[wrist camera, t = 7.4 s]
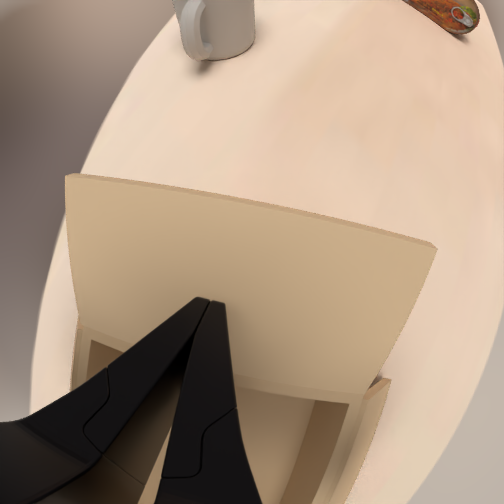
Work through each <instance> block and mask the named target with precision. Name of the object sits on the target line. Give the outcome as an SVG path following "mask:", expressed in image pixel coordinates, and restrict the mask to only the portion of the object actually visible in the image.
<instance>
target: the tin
mask: <svg viewBox="0 0 504 504" xmlns="http://www.w3.org/2000/svg"><path fill="white" fill-rule="evenodd" d="M403 1H404V2H406V3H407V4H409V5H411V6H412V7H414V8H415V9H417V10H418V11H420V12H421V13H423V14H424V15H426V16H427V17H429V18H430V19H431V20H433V21H434V22H435V23H437V24H438V25H439V26H441V27H442V28H443V29H445V30H447V31H449V32H451V33H455V34H467V33H469V32H471V31H472V30H473V29H475V28H476V27H477V25H478V23H479V19H480V14H479V9H478V7H477V4H476V3H475V1H474V0H403Z"/></svg>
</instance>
